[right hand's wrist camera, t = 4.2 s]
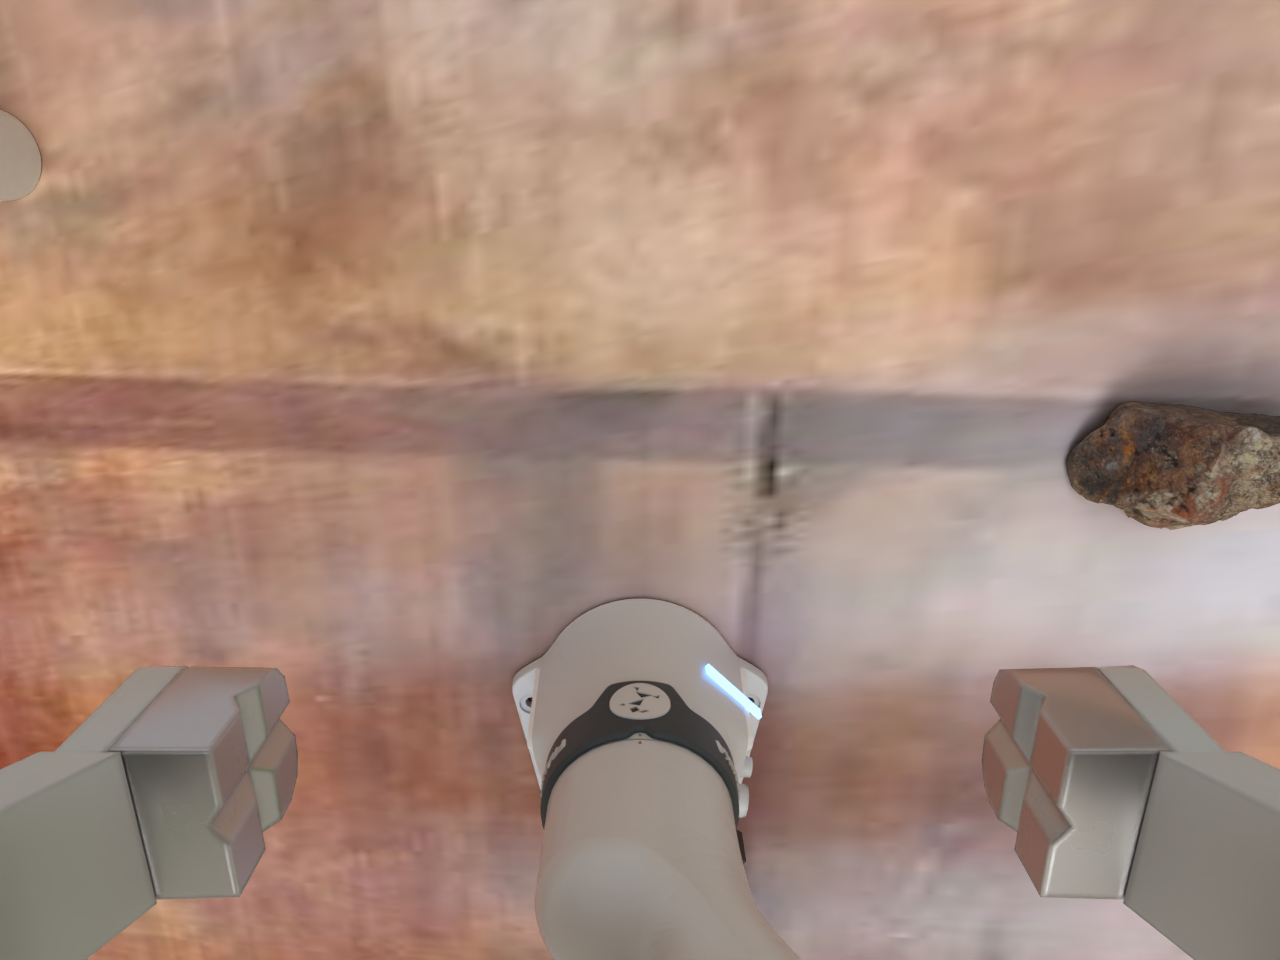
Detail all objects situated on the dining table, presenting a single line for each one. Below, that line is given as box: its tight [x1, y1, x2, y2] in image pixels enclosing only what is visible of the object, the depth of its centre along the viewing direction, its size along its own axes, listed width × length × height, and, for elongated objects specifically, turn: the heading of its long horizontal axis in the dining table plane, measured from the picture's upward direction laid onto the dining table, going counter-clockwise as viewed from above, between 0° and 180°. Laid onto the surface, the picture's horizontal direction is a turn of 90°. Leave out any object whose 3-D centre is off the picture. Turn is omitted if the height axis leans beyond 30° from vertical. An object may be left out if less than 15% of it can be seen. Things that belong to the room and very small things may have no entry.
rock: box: [1067, 401, 1280, 529], centre depth 56 cm, size 14×9×10 cm
